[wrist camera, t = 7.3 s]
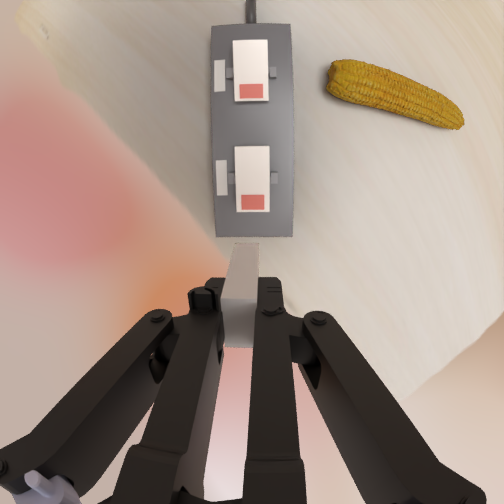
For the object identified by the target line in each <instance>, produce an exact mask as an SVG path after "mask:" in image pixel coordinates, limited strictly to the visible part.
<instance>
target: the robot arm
mask: <svg viewBox="0 0 504 504" xmlns="http://www.w3.org/2000/svg"><path fill="white" fill-rule="evenodd" d="M188 299H189V307H190V311H189V313H188V314H187V315H183V316H179V317H172V313H171V312H170V311H168V310H165V309H156V310H152V311H150V312H148V313H147V314H145V315H144V317H142V318H141V319H140V320H139V321H138V322H137V323H136V324H135V325H134V326H133V327H132V328H131V329H130V330H129V331H128V332H127V333H126V334H125V335H124V336H123V337H122V338H121V339H120V340H119V341H118V342H117V343H116V344H115V345H114V346H113V347H112V348H111V349H110V350H109V351H108V352H107V353H106V354H105V355H104V356H103V357H102V358H101V359H100V360H99V361H98V362H97V363H96V364H95V365H94V366H93V367H92V368H91V369H90V370H89V371H88V372H87V373H86V374H85V375H84V376H83V377H82V378H81V379H80V380H79V381H78V382H77V383H76V384H75V386H74V387H73V388H72V389H71V390H70V391H69V392H68V393H67V394H66V395H65V396H64V397H63V398H62V399H61V400H60V401H59V403H57V404H56V406H55V407H54V408H53V409H52V410H51V411H50V412H49V413H48V414H47V415H46V416H45V417H44V418H43V419H42V421H41V422H40V423H39V424H38V425H37V426H36V427H35V428H34V429H33V430H32V432H31V433H30V434H28V435H26V436H24V437H22V438H20V439H19V440H17V441H15V442H13V443H11V444H9V445H7V446H5V447H4V448H2V449H0V486H2V487H3V488H5V489H6V490H8V491H9V492H10V493H11V494H12V496H13V498H14V500H15V502H16V504H82V503H81V502H80V500H79V498H80V497H82V496H83V495H85V494H86V493H87V492H88V491H89V490H90V489H91V488H92V487H93V486H94V485H95V484H96V483H97V481H98V480H99V479H100V478H101V476H102V475H103V474H104V472H105V471H106V469H107V468H108V467H109V465H110V464H111V462H112V461H113V460H114V458H115V457H116V455H117V454H118V452H119V451H120V450H121V448H122V447H123V445H124V444H125V443H126V441H127V440H128V438H129V437H130V436H131V434H132V433H133V431H134V430H135V428H136V427H137V426H138V424H139V423H140V421H141V420H142V418H143V417H144V416H145V414H146V413H147V411H148V410H149V408H150V407H151V406H152V404H153V403H154V405H153V408H152V411H151V414H150V416H149V419H148V422H147V425H146V428H145V431H144V434H143V437H142V439H141V441H140V443H139V444H136V445H132V446H131V447H130V448H129V450H128V452H127V454H126V456H125V459H124V462H123V465H122V468H121V471H120V474H119V477H118V480H117V483H116V486H115V489H114V492H113V495H112V496H110V497H109V498H107V499H105V500H103V501H102V502H100V503H98V504H307V498H306V482H305V470H304V463H303V460H302V459H301V457H300V449H299V436H298V424H297V412H296V400H295V390H294V379H293V369H292V362H294V363H298V367H299V369H300V371H301V373H302V376H303V378H304V379H305V382H306V384H307V386H308V388H309V390H310V392H311V394H312V396H313V398H314V400H315V402H316V405H317V407H318V409H319V410H320V413H321V414H322V417H323V419H324V421H325V423H326V425H327V427H328V429H329V431H330V433H331V435H332V437H333V439H334V441H335V443H336V445H337V448H338V449H339V452H340V454H341V456H342V458H343V460H344V462H345V464H346V466H347V468H348V470H349V472H350V474H351V476H352V478H353V480H354V482H355V484H356V486H357V488H358V490H359V492H360V494H361V496H362V498H363V500H364V501H365V503H366V504H486V495H485V493H484V492H483V490H481V488H479V487H478V486H476V485H474V484H473V483H471V482H469V481H468V480H466V479H465V478H463V477H462V476H460V475H459V474H457V473H456V472H454V471H452V470H451V469H449V468H448V467H446V466H445V465H443V464H442V463H440V462H439V460H438V459H437V458H436V456H435V455H434V453H433V452H432V450H431V449H430V447H429V446H428V445H427V443H426V442H425V440H424V439H423V437H422V436H421V435H420V433H419V432H418V430H417V429H416V428H415V426H414V425H413V423H412V422H411V421H410V419H409V418H408V416H407V415H406V414H405V412H404V411H403V410H402V408H401V407H400V405H399V404H398V402H397V401H396V400H395V398H394V397H393V396H392V394H391V393H390V392H389V390H388V389H387V387H386V386H385V385H384V383H383V382H382V381H381V379H380V378H379V377H378V375H377V374H376V373H375V371H374V370H373V369H372V367H371V366H370V365H369V363H368V362H367V361H366V359H365V358H364V357H363V355H362V354H361V353H360V351H359V350H358V349H357V347H356V346H355V345H354V343H353V342H352V341H351V339H350V338H349V337H348V336H347V334H346V333H345V332H344V330H343V329H342V328H341V326H340V325H339V324H338V323H337V321H336V320H335V319H334V317H333V316H331V315H330V314H329V313H326V312H323V311H312V312H309V313H307V314H306V315H304V318H299V317H295V316H292V315H290V314H288V313H287V312H286V310H285V308H284V303H283V294H282V286H281V281H280V280H279V279H278V278H277V277H259V243H235V246H234V249H233V253H232V257H231V260H230V264H229V268H228V272H227V275H226V278H210V279H209V280H208V281H207V282H206V283H205V286H203V287H197V288H194V289H192V290H190V291H189V292H188ZM224 343H225V347H238V348H240V347H241V348H253V360H252V376H251V394H250V410H249V426H248V442H247V456H246V461H245V469H244V483H243V497H242V498H241V499H235V500H226V501H217V502H210V501H207V500H204V486H203V480H204V473H205V466H206V460H207V454H208V448H209V441H210V434H211V429H212V422H213V416H214V411H215V404H216V398H217V392H218V386H219V380H220V374H221V368H222V363H223V357H224V351H223V344H224ZM152 353H153V354H152ZM151 354H152V355H151ZM154 401H155V402H154Z"/></svg>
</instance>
